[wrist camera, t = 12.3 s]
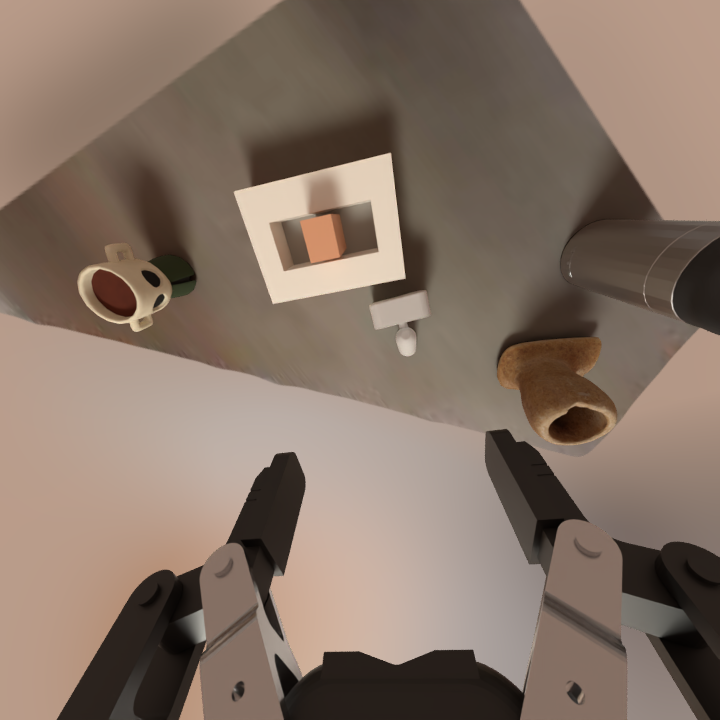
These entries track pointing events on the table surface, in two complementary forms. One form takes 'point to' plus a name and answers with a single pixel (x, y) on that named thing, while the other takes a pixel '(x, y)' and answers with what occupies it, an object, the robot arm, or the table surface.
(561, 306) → the table surface
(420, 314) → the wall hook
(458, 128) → the table surface
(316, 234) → the orange block
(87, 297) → the character mug
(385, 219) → the well block
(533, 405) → the brown boot-shaped piece
